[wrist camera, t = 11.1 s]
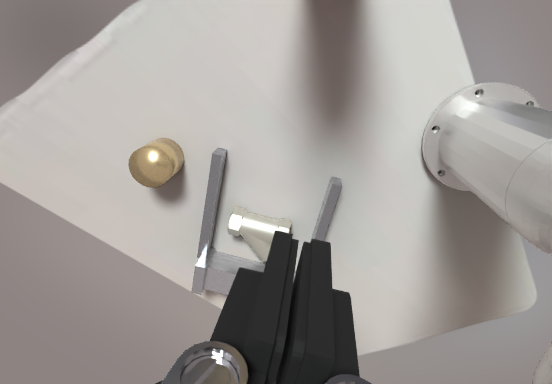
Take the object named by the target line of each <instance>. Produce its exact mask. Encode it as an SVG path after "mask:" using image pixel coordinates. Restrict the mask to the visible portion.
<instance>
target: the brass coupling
mask: <svg viewBox="0 0 552 384" xmlns="http://www.w3.org/2000/svg"><path fill="white" fill-rule="evenodd" d="M183 164H184V154H183V151H182V149H181V148H180V146H179V145H178V144H177V143H176V142H174V141H172V140H170V139H167V138H160V139H157V140H155V141H153V142H151V143H149V144H147V145H145V146H144V147H142V148H140V149H138V150H136V151H135V152H133V154H132V155H131V156H130V159H129V169H130V172H131V174H132V176H133V177H134V179H135V180H136V181H137V182H139V183H140V184H142V185H143V186H146V187H150V188H155V187H159V186H161V185H163V184H164V183H165V182H166V181H167V180H169V179H170V178H171V177H172V176H173V175H175V174H176V173H177V172H178V171H179V170H180V169H181V168H182V166H183Z"/></svg>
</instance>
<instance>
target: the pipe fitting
mask: <svg viewBox="0 0 552 384" xmlns="http://www.w3.org/2000/svg"><path fill="white" fill-rule="evenodd" d="M290 227H291V221H289V220H286V219H282V218H281V219H280V220H277V219H273V218H269V217H265V216H262V215H258V214H254V213H250V212H246V210H245V209H244V208H240V207H235V208H234V209H233V212H232V214H231V217H230V221H229V225H228V234H230V235H234V236H239V235H241V236H242V237H243V238H244V239H245V241H246V242H247V243H248V245H249V246H250V247H251V249H252V250H253V251H254V252H255V254H256V255H257V256H258V258H259V259H260V260H261V261H263V262H265V261H267V258H268V254H269V250H270V247H271V243H272V240H273V236H274V232H275V230H277V231H282V232H286V233H289V231H290Z"/></svg>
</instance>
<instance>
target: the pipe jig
mask: <svg viewBox="0 0 552 384" xmlns="http://www.w3.org/2000/svg"><path fill="white" fill-rule="evenodd" d="M226 154H227V150H225V149H221V148H218V149H216V150H215V151H214V152H213V153H212V160H211V167H210V174H209V181H208V187H207V194H206V201H205V208H204V215H203V221H202V228H201V235H200V242H199V249H198V255H197V257H198V258H199V260H198V262H197V264H196V265H195V272H194V279H193V285H192V293H196V294H200V295H201V294H202V292H203V289H206V290H209V291H213V292H217V293H221V294H225V295H228V294H229V291H230V289H231V286H232V284H233V281H234V279H235V276H236V274H237V271H238V269H239V267H242V268H246V269H251V270H255V271H259V272H264V269H265V265H266V264H264V263H260V262H256V261H252V260H248V259H244V258H241V257H237V256H233V255H229V254H225V253H221V252H217V251H215V248H211V244H212V238H213V232H214V226H215V220H216V214H217V208H218V202H219V196H220V190H221V184H222V178H223V172H224V166H225V160H226ZM341 187H342V184H341V179H339V178H335V177H331V180H330V183H329V186H328V189H327V192H326V195H325V198H324V202H323V205H322V208H321V211H320V214H319V217H318V220H317V223H316V227H315V230H314V233H313V236H312V239H316V240H321V241H323V240H324V237H325V234H326V231H327V228H328V226H329V223H330V220H331V217H332V214H333V211H334V208H335V205H336V202H337V199H338V196H339V193H340V190H341ZM312 239H311V240H312ZM310 243H311V242H310ZM295 274H296V272H294V278H295ZM293 282H294V280H293Z"/></svg>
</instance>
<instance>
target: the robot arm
mask: <svg viewBox="0 0 552 384" xmlns="http://www.w3.org/2000/svg"><path fill="white" fill-rule="evenodd" d="M476 90H478V93H477V94H475V92H476ZM526 103H527V104H526ZM433 126H435V129H434V130H432V128H433ZM422 152H423V158H424V160H425V163H426V166H427V167H428V169H429V170H430V172H431V173H432V174H433V175H434V177H435V178H436V179H438V180H439V181H440V182H442V183H443V184H444V185H446V186H449V187H451V188H453V189H457V190H461V191H470V192H473V193H474V194H475V195H476V196H477V197H478V198H479V199H481V200H482V201H483V202H484V203H485V204H486V205H487V206H488V207H490V208H491V209H492V210H493V211H494V212H495V213H496V214H497V215H499V216H500V217H501V218H502V219H503V220H504V221H505V222H506V223H508V224H509V225H510V226H511V227H512V228H513V229H514V230H515V231H517V232H518V233H519V234H520V235H521V236H523V237H524V238H525V239H526V240H527V241H528V242H530V243H531V244H532V245H534V246H535V247H537V248H538V249H540V250H541V251H544V252H545V253H547V254H550V255H552V111H550V110H546V109H542V108H541V107H540V106H539V104H538V102H537V101H536V100H535V98H533V96H532V95H531V94H530V93H528V92H527V91H525V90H523V89H522V88H519V87H517V86H514V85H511V84H506V83H495V82H489V83H481V84H476V85H473V86H470V87H467V88H465V89H463V90H461V91H459V92H457V93H455V94H454V95H452V96H451V97H450V98H448V99H447V100H446V101H444V102H443V103H442V104H441V105H440V107H439V108H438V109H437V110H436V111H435V112H434V114H433V115H432V117H431V118H430V120H429V122H428V124H427V126H426V128H425V132H424V136H423V141H422ZM439 170H441V171H440V172H439V173H438V171H439ZM292 235H293V234H290V233H286V232H282V231H277V230H275V232H274V236H273V240H272V243H271V247H270V250H269V254H268V258H267V261H266V265H265V269H264V272H259V271H255V270H251V269H246V268H242V267H239V269H238V271H237V274H236V276H235V279H234V281H233V284H232V286H231V289H230V291H229V294H228V296H227V299H226V301H225V304H224V306H223V309H222V311H221V314H220V317H219V319H218V322H217V324H216V327H215V329H214V332H213V334H212V337H211V339H210V341H205V342H202V343H198V344H195V345H193V346H191V347H190V348H188V349H187V350H185V351H184V352H183V354H181V355H180V357H179V358H178V359H177V360H176V362H175V363H174V365H173V366H172V368H171V369H170V371H169V372H168V373H167V375H166V377H165V378H164V379H163V380H162V381H160V382H158V383H156V384H371V383H370V382H368V381H366V380H365V379H363V378H361V377H360V376H359V367H358V359H357V350H356V341H355V332H354V323H353V314H352V305H351V297H350V294H349V293H348V292H344V291H339V290H335V289H332V269H331V244H330V242H325V241H321V240H316V239H312V240H311V243H308V242H304V243H303V247H302V251H301V255H300V259H299V263H298V266H297V270H296V274H295V278H294V272H295V265H296V257H297V250H298V242H299V240H295V239H292ZM293 280H294V282H293ZM532 384H552V343H551V345H550V347H549V348H548V349H547V351H546V352H545V353H544V355H543V357H542V359H541V360H540V362H539V364H538V366H537V368H536V370H535V373H534V377H533V382H532Z"/></svg>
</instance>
